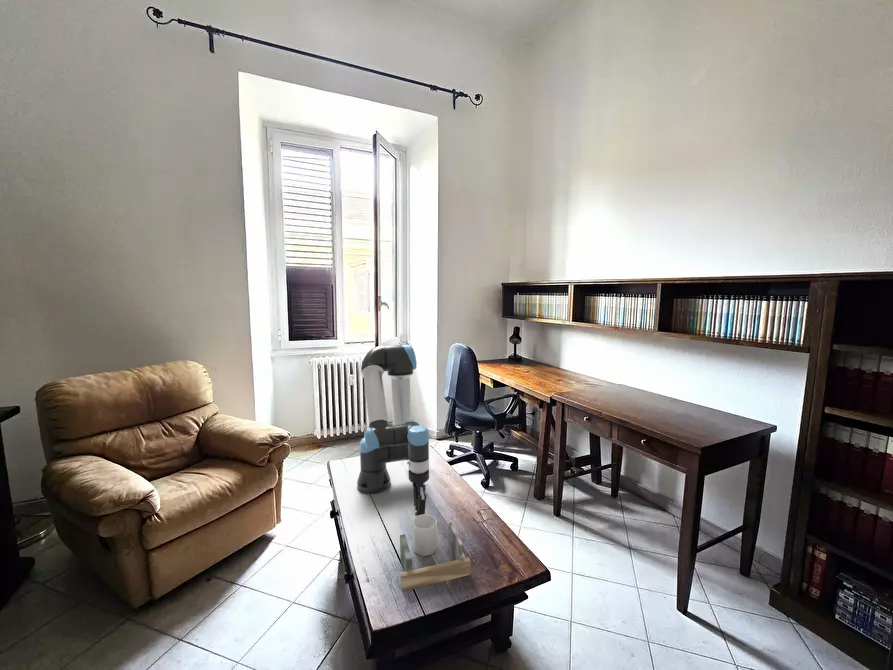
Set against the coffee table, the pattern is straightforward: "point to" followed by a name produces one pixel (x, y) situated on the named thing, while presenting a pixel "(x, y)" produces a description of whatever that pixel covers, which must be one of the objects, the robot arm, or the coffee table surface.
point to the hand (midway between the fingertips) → (419, 528)
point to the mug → (425, 534)
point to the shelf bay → (435, 572)
